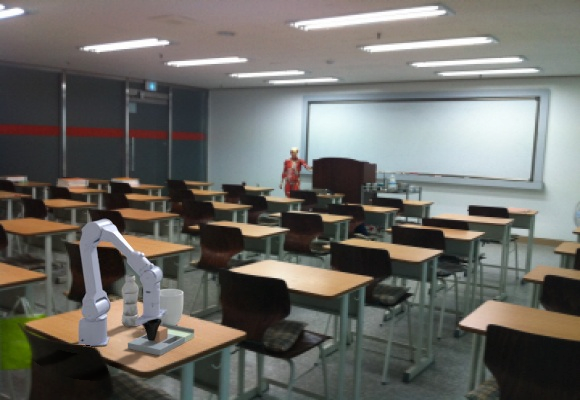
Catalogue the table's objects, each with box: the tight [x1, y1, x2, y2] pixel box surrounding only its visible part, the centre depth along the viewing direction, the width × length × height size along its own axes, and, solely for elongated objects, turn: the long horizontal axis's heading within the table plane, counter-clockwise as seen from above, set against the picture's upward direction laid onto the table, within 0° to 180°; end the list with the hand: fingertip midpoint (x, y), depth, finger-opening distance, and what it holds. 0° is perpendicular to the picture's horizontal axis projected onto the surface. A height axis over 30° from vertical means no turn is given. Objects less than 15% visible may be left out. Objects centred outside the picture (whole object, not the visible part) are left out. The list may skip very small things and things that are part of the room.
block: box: [154, 325, 168, 342], centre depth 191 cm, size 4×4×4 cm
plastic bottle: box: [121, 274, 140, 328], centre depth 210 cm, size 6×7×20 cm
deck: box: [127, 323, 195, 356], centre depth 193 cm, size 20×14×3 cm
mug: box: [159, 288, 184, 327], centre depth 214 cm, size 15×11×13 cm
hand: (151, 340), depth 188 cm, fingers closed
